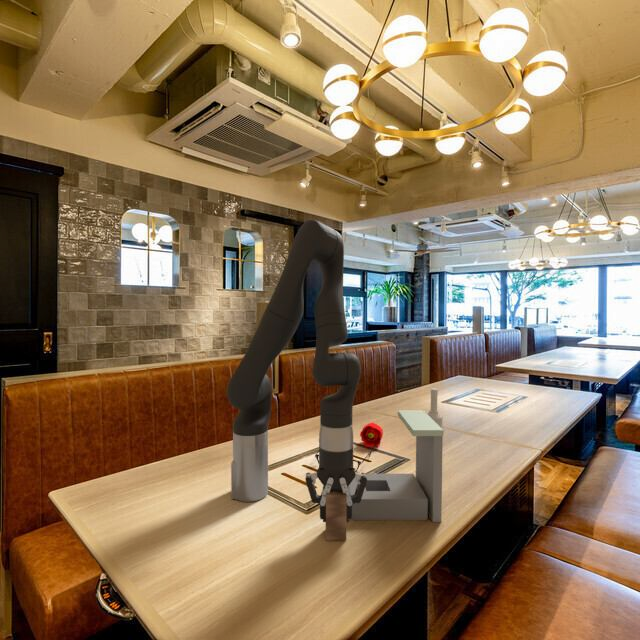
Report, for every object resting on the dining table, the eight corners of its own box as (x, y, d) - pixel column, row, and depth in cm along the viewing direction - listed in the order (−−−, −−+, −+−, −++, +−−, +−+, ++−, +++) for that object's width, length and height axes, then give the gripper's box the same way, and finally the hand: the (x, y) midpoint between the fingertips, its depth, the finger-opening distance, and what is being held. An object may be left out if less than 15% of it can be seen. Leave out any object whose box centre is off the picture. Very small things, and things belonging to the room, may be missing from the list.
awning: (412, 523, 92) (413, 430, 91) (397, 489, 109) (397, 410, 108) (442, 523, 92) (443, 430, 91) (422, 489, 109) (423, 410, 108)
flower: (387, 427, 147) (385, 433, 139) (378, 445, 147) (375, 452, 140) (368, 417, 148) (365, 422, 141) (360, 434, 149) (356, 441, 142)
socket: (351, 519, 93) (351, 499, 93) (346, 491, 107) (347, 473, 107) (427, 519, 93) (427, 499, 93) (412, 491, 107) (413, 473, 107)
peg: (325, 540, 85) (326, 495, 84) (325, 529, 89) (325, 485, 89) (346, 540, 85) (346, 495, 84) (344, 528, 89) (345, 485, 89)
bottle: (428, 463, 126) (429, 386, 125) (444, 468, 123) (445, 388, 122) (421, 469, 122) (422, 389, 121) (437, 473, 119) (438, 391, 118)
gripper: (303, 450, 82) (302, 530, 83) (371, 450, 83) (370, 529, 83) (304, 438, 90) (304, 511, 91) (366, 438, 90) (365, 511, 91)
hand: (335, 519), depth 87 cm, fingers closed on peg, 4 cm apart
